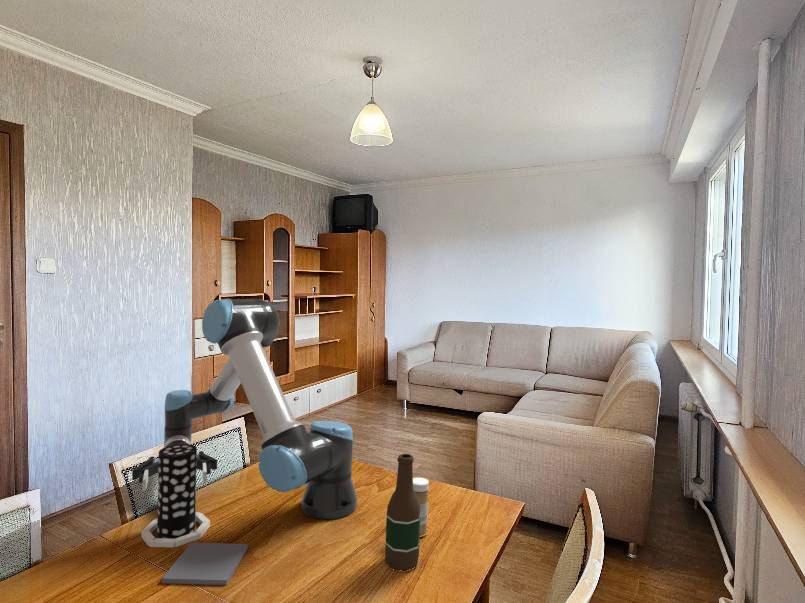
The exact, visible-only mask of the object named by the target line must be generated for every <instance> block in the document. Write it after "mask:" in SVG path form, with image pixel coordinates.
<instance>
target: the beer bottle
mask: <svg viewBox="0 0 805 603" xmlns="http://www.w3.org/2000/svg"><path fill="white" fill-rule="evenodd" d="M396 460H397V462H398V465H397V475H396V486H395V488H394V491H393V493H392V494H391V497H390V499H389V501H388V504H387V509H386V520H385V521H386V522H385V549H384V550H385V553H384V554H385V555H384V558H385V559H384V560H385V565H387V564H388V565H389V566H390V567H391V568H392V570H393V569H394V570H393V571H395V570H402V571H401V572H403V571H407V570H409V569H412V568H414V567H416V566H417V567H418V563H419V559H418V558H419V557H420V545H421V544H420V542H421V540H420V516H421V509H420V502H419V499H418V497H417V495H416V493H415V492H414V488H413V478H414V474H413V473H414V472H413V470H414V469H413V463H414V461H415V459H414V455H412V454H409V453H401V454H399V455H398V457H397V459H396ZM388 565H387V566H388ZM389 566H388V567H389ZM390 567H389V568H390ZM417 567H416V568H417ZM391 568H390V569H391ZM414 569H415V568H414ZM412 570H413V569H412ZM409 571H410V570H409ZM407 572H408V571H407Z"/></svg>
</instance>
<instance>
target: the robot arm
mask: <svg viewBox="0 0 805 603" xmlns="http://www.w3.org/2000/svg"><path fill="white" fill-rule="evenodd" d="M275 307H276V306H274V305H273V304H272V303H271V302H269V301H267V300H265V299H260V298H246V299H245V298H244V299H241V298H239V299H230V298H225V299H216V300H213V301H211V302H210V303H209V304H208V305H207V307H206V308H205V310H204V313H203V316H202V319H201V329H202V334H203V337H204V338H205V340H206V341H207V342H209V343H211V344H217V345H218V348H219V350H220V352H221V354H223V355H225V356H228V359H227V360H226V362H225V364H224V365H223V366H222V368H221V369H220V371H219V373H218V374H217V376H216V378H215V379H214V380H213V382H212V384H211V386H210V387H209V389H208V390H207V391H206V392H200V393H196V394H193V392H192V391H191V390H188V389H178V390H172V391H170V392H167V394H166V395H165V400H164V434H163V435H164V438H163V440H164V441H163V448H165V447H168V446H172V445H178V444H190V445H192V423H193V420H194V419H199V418H203V417H206V416H212V415H216V414H222V413H224V412H226V411H229V410H231V409H232V408H233V407H234V405H235V403H234V402H235V393H236V391H237V389H238V388H239V386H240V385H241V386H242V389H243V391H244V393H245V395H246V398H247V400H248V402H249V405H250V408H251V409H252V412H253V415H254V417H255V419H256V421H257V424H258V426H259V428H260V431H261V434H262V435H263V438H262V440H261V442H260V448H261V452H260V453H259V456H258V460H257V461H258V462H259V463H258V465H257V466H258V471H259V473H260V476H261V479H263V481H264V482H265V484H266V485H268V487H270V488H271V489H272V490H275V491H277V492H279V493H287V492H291V491H293V490H297V489H300V488H302V487H303V486H304V485H306V486H305V489H304V492H303V495H302V498H301V510H302V512H303V513H304V514H305V515H307V516H309V517H311V518H315V519H318V520H334V519H340V518H343V517H347V516H348V515H350V514H352V513H354V512H355V511H356V509H357V507H358V497H357V496H358V495H357V493H356V488H355V485H354V482H353V479H352V474H353V473H352V471H353V470H352V468H353V442H354V437H353V436H354V435H353V428H352V427H351V425H349V424H347V423H344V422H341V421H334V420H317V421H313V422H312V423H310V427H309V432H308V430H307V429H306V426H305V424H304V423H303V422H299V421H297V420H295V417H294V415H293V413H292V410H291V408H290V405H289V403H288V401H287V399H286V397H285V395H284V392H283V390H282V388H281V386H280V384H279V381H278V379H277V377H276V375H275V372H274V370H273V368H272V366H271V364H270V363H271V362H270V361H269V359H268V357H267V354H266V352H265V350H264V349H267V348H268V347H271V345H272V344H273V342H274V341H275V339H276V338H277V336H278V333H279V330H280V325H281V321H280V316H279V312H278V311H277V309H276V308H275ZM158 468H159V458H156V457H155V456H150V457H149V458H148V459H147V460H145V461H144V462H142V463H141V464H139V465H138V466H137V467H135V468H133V469H132V470H131V474H132V475H131V480H132V481H135V480H138V484H142V492H144V491H147V488H148V487H147V486H148V484H149V478H150V477H152V476H154V475H156V474H157V475H158ZM217 469H218V459H216V458H214V457H212V456H210V455H208V454H205V453H204V451H202V450H201V451H198V452H197V465H196V470H200V471H202V482H203V483H207V482H208V481H207V476H208V475H211V474H212V471H215V470H217ZM211 470H212V471H211Z"/></svg>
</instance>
